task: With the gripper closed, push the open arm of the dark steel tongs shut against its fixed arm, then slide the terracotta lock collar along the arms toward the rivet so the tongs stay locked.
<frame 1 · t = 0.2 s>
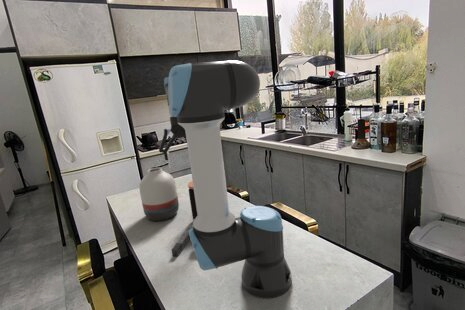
hand: (186, 164, 121), 28 cm above the table, fingers open, 13 cm apart
tongs fixed arm: (197, 231, 119), on the table
tong arm: (188, 237, 112), point 2 cm above the table, hinge at 32.0°
vase: (162, 215, 138), on the table
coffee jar: (204, 219, 129), on the table
lock tab: (202, 235, 107), point 5 cm above the table, slide at 0.0 cm
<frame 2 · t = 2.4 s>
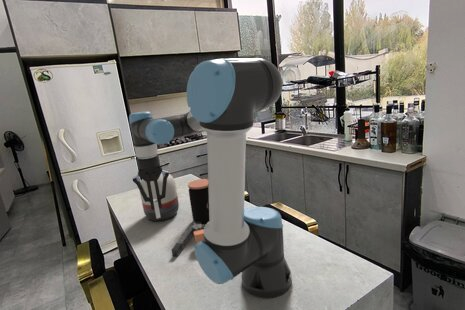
hand: (158, 216, 105), 14 cm above the table, fingers closed
nothing on the table moved.
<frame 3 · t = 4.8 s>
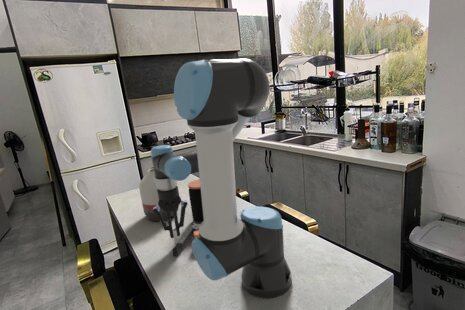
hand: (176, 244, 109), 1 cm above the table, fingers closed
tong arm: (189, 237, 112), point 2 cm above the table, hinge at 31.1°, touching gripper
everything else where it was.
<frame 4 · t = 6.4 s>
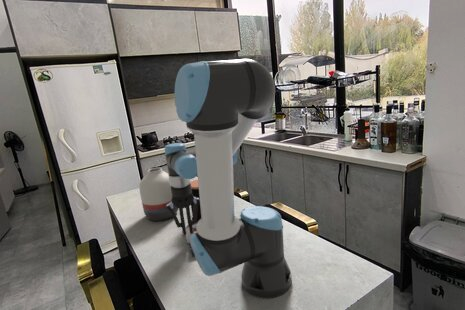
hand: (189, 240, 110), 1 cm above the table, fingers closed
tong arm: (196, 237, 111), point 2 cm above the table, hinge at 8.3°, touching gripper
everything else where it was.
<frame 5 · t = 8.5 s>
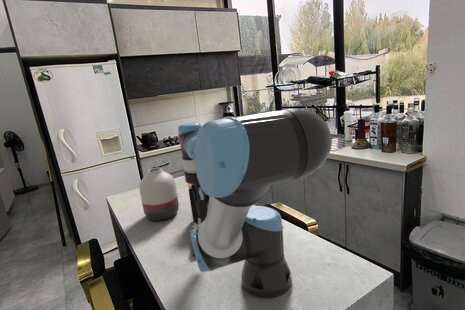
hand: (204, 232, 99), 9 cm above the table, fingers closed
tong arm: (197, 237, 111), point 2 cm above the table, hinge at 6.7°
everything else where it was.
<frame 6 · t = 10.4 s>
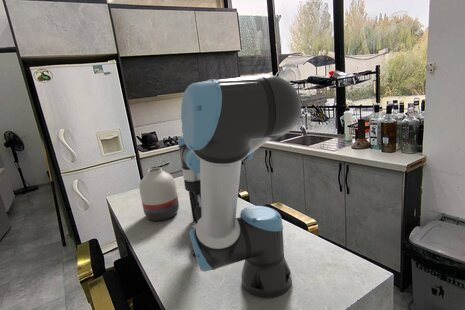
hand: (202, 236, 106), 5 cm above the table, fingers closed
lock tab: (201, 233, 108), point 5 cm above the table, slide at 1.1 cm, touching gripper
everything else where it was.
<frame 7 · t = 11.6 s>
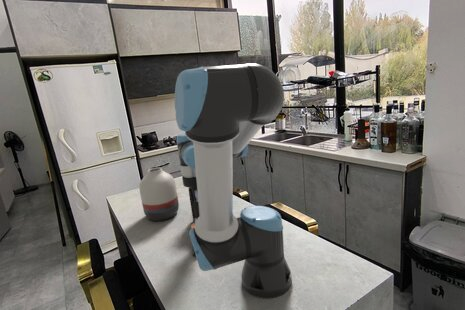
hand: (200, 230, 110), 4 cm above the table, fingers closed
lock tab: (199, 227, 112), point 5 cm above the table, slide at 6.2 cm, touching gripper
everything else where it was.
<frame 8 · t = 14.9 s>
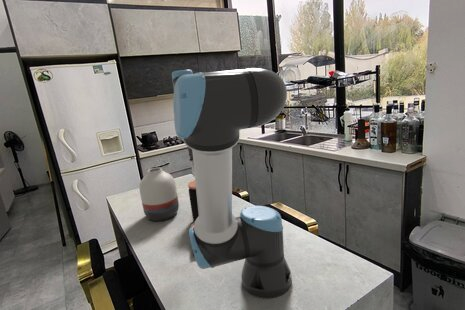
hand: (196, 175, 108), 26 cm above the table, fingers closed
lock tab: (199, 227, 112), point 5 cm above the table, slide at 6.2 cm
everything else where it was.
at the end: tong arm at +7° (first picture: +32°); lock tab slide at 6.2 cm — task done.
